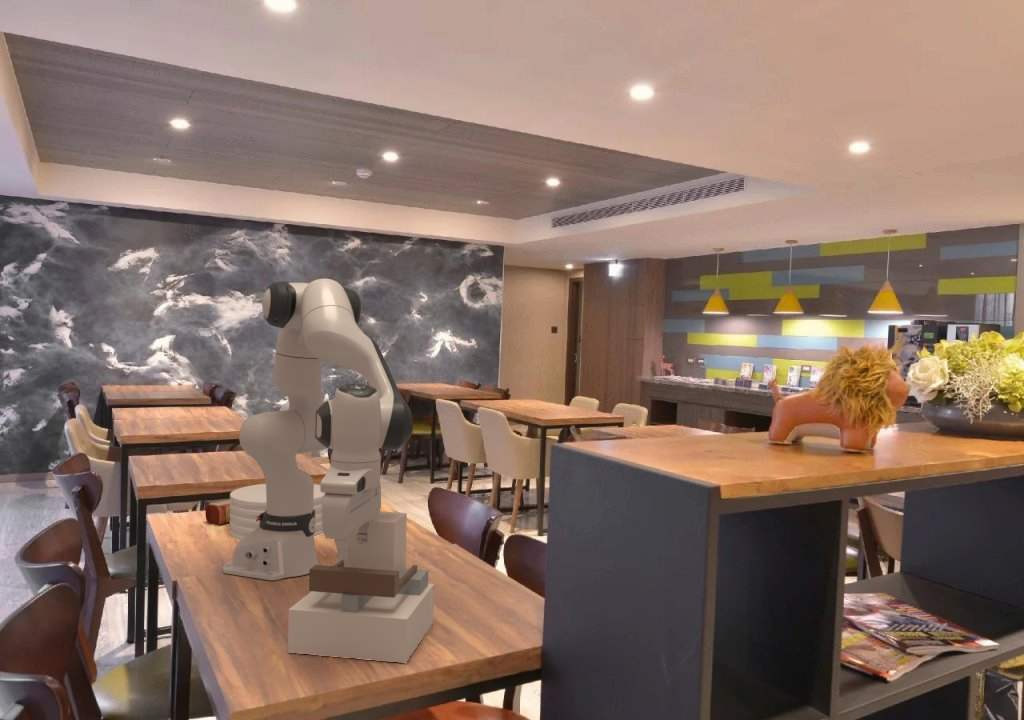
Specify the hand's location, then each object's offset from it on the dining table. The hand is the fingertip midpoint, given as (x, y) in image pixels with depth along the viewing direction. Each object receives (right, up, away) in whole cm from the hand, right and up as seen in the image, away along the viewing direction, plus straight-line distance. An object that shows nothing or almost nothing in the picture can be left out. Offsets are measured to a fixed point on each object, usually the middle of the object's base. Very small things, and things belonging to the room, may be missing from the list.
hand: (353, 550), depth 133 cm
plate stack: (-39, -16, +82) cm, 92 cm away
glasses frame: (+1, -7, +6) cm, 10 cm away
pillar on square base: (+1, -18, +6) cm, 19 cm away
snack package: (-56, -15, +95) cm, 111 cm away
